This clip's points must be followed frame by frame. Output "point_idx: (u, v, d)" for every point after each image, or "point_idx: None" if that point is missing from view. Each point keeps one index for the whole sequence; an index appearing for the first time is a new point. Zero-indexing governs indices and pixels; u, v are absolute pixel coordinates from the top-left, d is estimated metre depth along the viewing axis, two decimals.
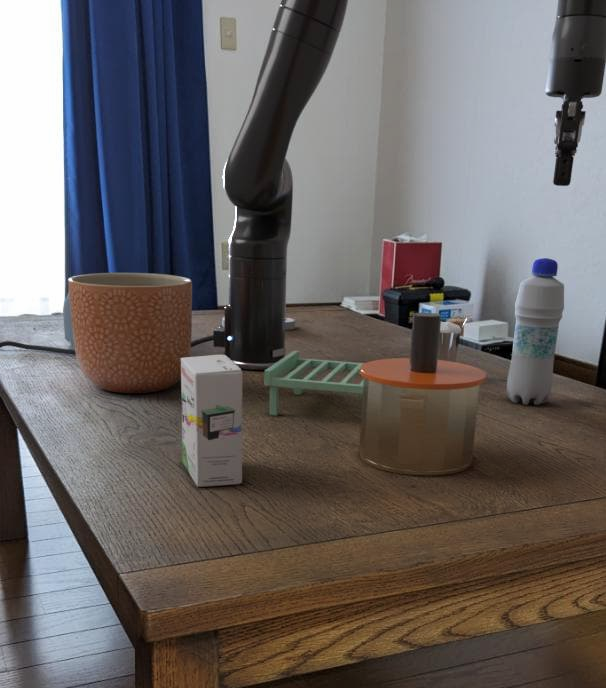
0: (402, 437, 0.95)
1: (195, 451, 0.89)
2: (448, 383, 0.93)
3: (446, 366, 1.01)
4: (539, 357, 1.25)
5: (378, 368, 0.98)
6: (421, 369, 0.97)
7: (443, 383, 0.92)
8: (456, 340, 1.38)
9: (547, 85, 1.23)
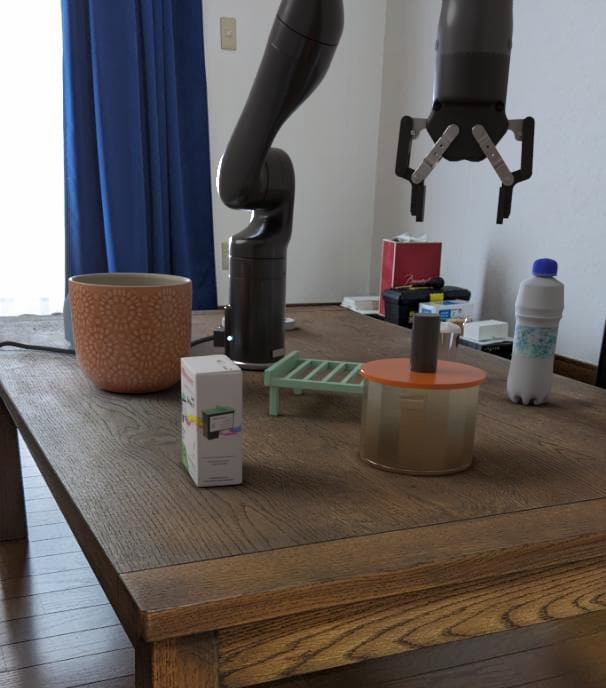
0: (402, 437, 0.95)
1: (195, 451, 0.89)
2: (448, 383, 0.93)
3: (446, 366, 1.01)
4: (539, 357, 1.25)
5: (378, 368, 0.98)
6: (421, 369, 0.97)
7: (443, 383, 0.92)
8: (456, 340, 1.38)
9: None
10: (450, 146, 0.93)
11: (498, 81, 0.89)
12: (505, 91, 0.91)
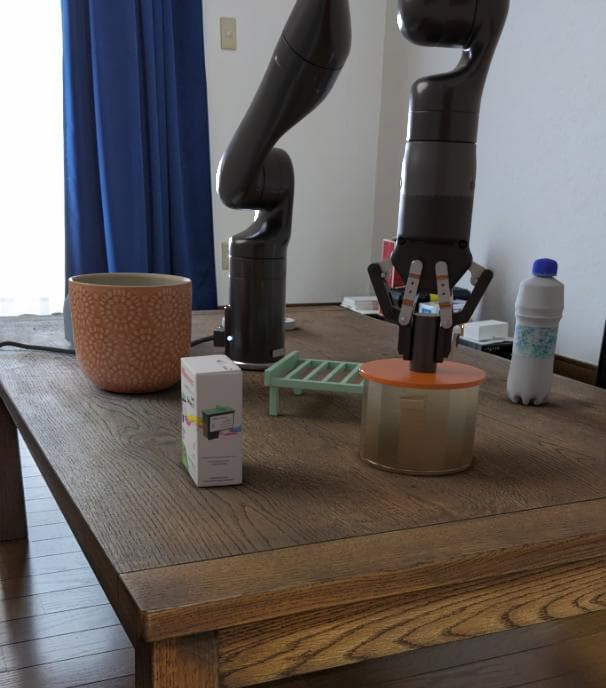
0: (402, 437, 0.95)
1: (195, 451, 0.89)
2: (448, 383, 0.93)
3: (446, 366, 1.01)
4: (539, 357, 1.25)
5: (378, 368, 0.98)
6: (421, 369, 0.97)
7: (443, 383, 0.92)
8: (456, 340, 1.38)
9: None
10: None
11: (460, 222, 0.90)
12: (468, 229, 0.91)
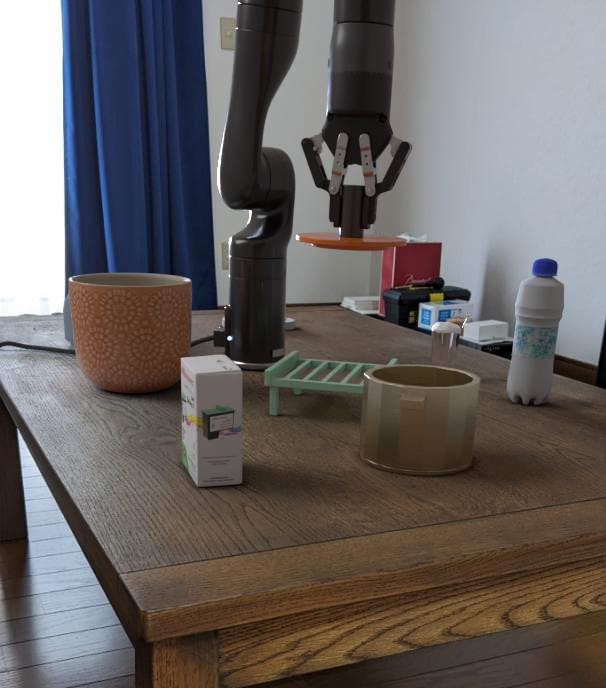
0: (402, 437, 0.95)
1: (195, 451, 0.89)
2: (369, 241, 1.05)
3: (373, 236, 1.14)
4: (539, 357, 1.25)
5: (312, 235, 1.11)
6: (349, 234, 1.10)
7: (365, 241, 1.05)
8: (456, 340, 1.38)
9: None
10: None
11: (379, 96, 1.03)
12: (387, 105, 1.04)
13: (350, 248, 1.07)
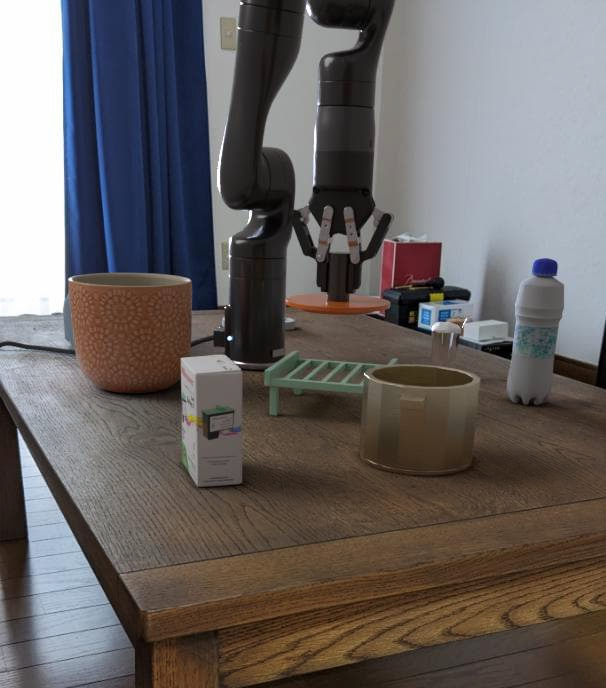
0: (402, 437, 0.95)
1: (195, 451, 0.89)
2: (354, 307, 1.12)
3: (359, 298, 1.20)
4: (539, 357, 1.25)
5: (300, 299, 1.18)
6: (335, 298, 1.16)
7: (350, 307, 1.12)
8: (456, 340, 1.38)
9: None
10: None
11: (362, 173, 1.09)
12: (369, 180, 1.11)
13: (337, 313, 1.14)
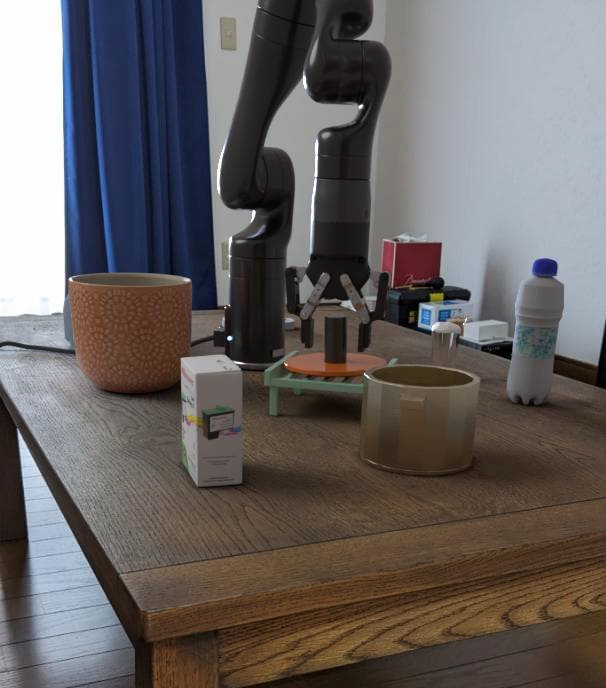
0: (402, 437, 0.95)
1: (195, 451, 0.89)
2: (351, 370, 1.15)
3: (356, 358, 1.23)
4: (539, 357, 1.25)
5: (299, 361, 1.21)
6: (333, 360, 1.19)
7: (347, 370, 1.15)
8: (456, 340, 1.38)
9: None
10: (324, 288, 1.16)
11: (358, 242, 1.12)
12: (365, 248, 1.14)
13: (334, 376, 1.17)
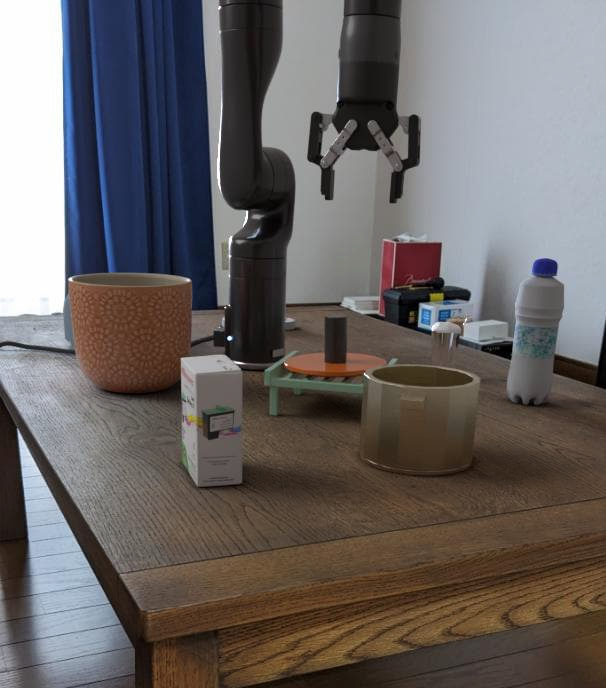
0: (402, 437, 0.95)
1: (195, 451, 0.89)
2: (351, 370, 1.15)
3: (356, 358, 1.23)
4: (539, 357, 1.25)
5: (299, 361, 1.21)
6: (333, 360, 1.19)
7: (347, 370, 1.15)
8: (456, 340, 1.38)
9: None
10: (351, 137, 1.13)
11: (387, 85, 1.09)
12: (394, 93, 1.10)
13: (334, 376, 1.17)
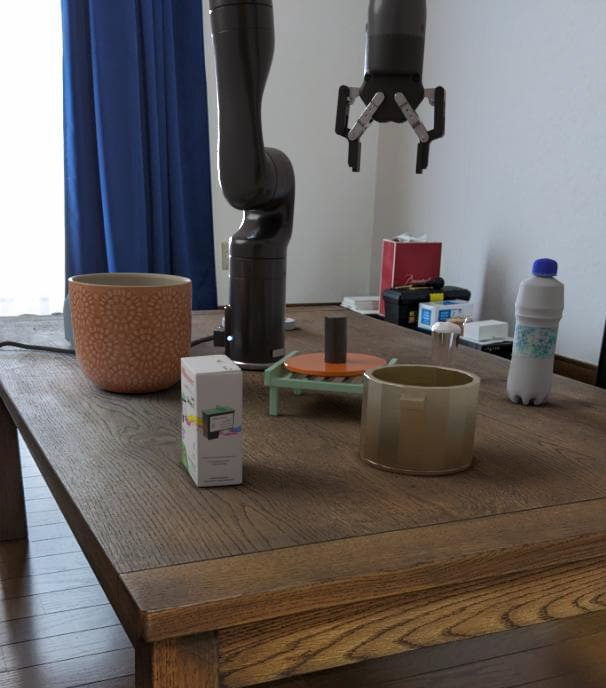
0: (402, 437, 0.95)
1: (195, 451, 0.89)
2: (351, 370, 1.15)
3: (356, 358, 1.23)
4: (539, 357, 1.25)
5: (299, 361, 1.21)
6: (333, 360, 1.19)
7: (347, 370, 1.15)
8: (456, 340, 1.38)
9: None
10: (378, 110, 1.16)
11: (413, 57, 1.12)
12: (420, 65, 1.14)
13: (334, 376, 1.17)
